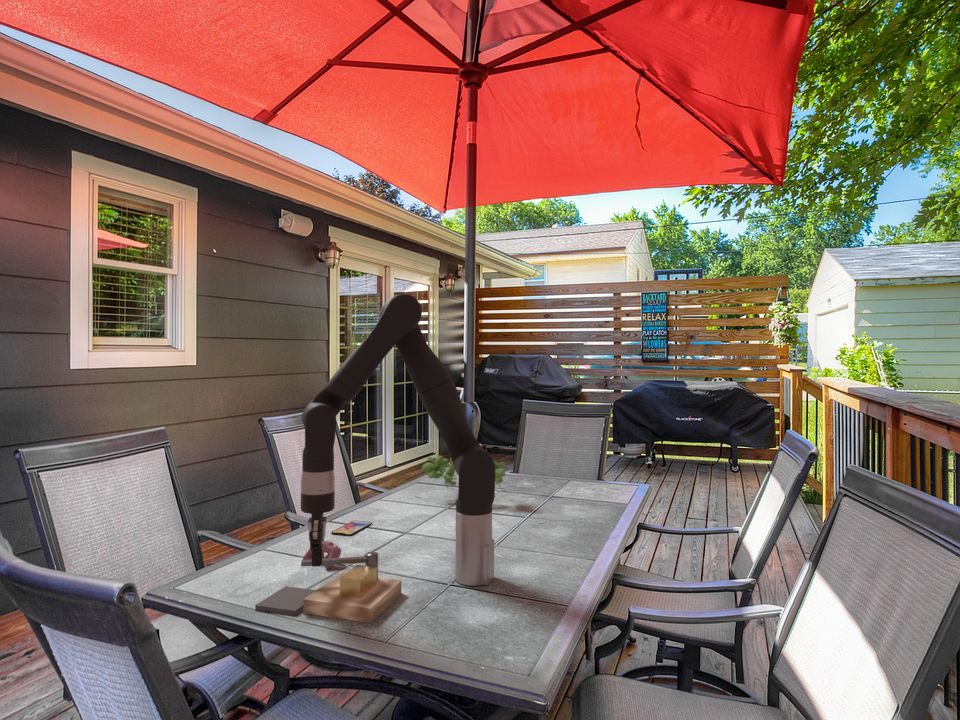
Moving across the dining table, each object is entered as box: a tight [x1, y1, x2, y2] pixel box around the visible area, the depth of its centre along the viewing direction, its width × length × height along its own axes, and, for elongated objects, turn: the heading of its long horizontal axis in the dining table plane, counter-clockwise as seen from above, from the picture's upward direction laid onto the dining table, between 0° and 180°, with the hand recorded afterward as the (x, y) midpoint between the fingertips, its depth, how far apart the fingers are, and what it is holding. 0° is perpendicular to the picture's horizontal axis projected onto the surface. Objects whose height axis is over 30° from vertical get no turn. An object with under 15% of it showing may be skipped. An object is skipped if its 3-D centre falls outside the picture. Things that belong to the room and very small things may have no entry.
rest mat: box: [254, 585, 317, 616], centre depth 128 cm, size 10×11×1 cm
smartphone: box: [331, 520, 373, 537], centre depth 185 cm, size 7×1×15 cm
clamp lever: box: [300, 551, 379, 579], centre depth 133 cm, size 18×3×6 cm, turn 101°
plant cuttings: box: [421, 455, 507, 491], centre depth 223 cm, size 35×17×22 cm
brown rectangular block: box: [340, 564, 377, 598], centre depth 128 cm, size 5×8×4 cm, turn 164°
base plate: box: [302, 572, 402, 624], centre depth 128 cm, size 16×16×3 cm
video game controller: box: [302, 540, 342, 571], centre depth 153 cm, size 10×5×7 cm, turn 60°
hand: (316, 565), depth 130 cm, fingers closed
